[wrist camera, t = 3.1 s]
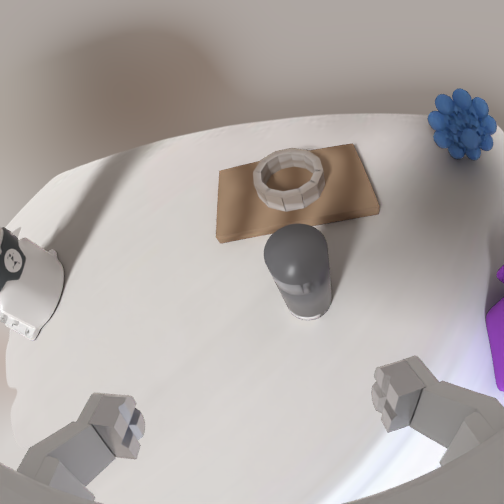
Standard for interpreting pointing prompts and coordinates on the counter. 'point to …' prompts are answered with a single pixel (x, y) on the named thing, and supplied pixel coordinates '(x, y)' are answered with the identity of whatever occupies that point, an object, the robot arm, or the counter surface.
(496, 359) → the toy camera
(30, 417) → the counter surface
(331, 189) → the mount
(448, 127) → the blue lumpy cluster
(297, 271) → the grey rounded cylinder
